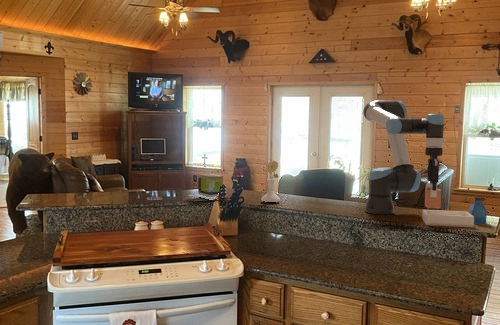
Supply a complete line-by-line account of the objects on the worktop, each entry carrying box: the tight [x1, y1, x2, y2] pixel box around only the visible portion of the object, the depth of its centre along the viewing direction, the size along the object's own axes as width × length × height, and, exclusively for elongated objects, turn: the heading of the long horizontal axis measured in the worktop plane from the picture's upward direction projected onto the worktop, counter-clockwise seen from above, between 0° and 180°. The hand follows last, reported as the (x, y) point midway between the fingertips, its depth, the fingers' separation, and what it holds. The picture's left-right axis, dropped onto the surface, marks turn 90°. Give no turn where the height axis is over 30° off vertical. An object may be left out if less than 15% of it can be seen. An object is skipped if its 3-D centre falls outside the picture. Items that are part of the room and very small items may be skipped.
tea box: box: [197, 173, 224, 197], centre depth 289 cm, size 15×10×15 cm, turn 32°
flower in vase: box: [260, 160, 281, 203], centre depth 275 cm, size 13×11×25 cm
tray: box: [422, 209, 475, 228], centre depth 222 cm, size 13×20×5 cm, turn 79°
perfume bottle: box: [468, 196, 488, 225], centre depth 225 cm, size 6×6×12 cm
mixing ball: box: [425, 181, 431, 190], centre depth 223 cm, size 4×4×4 cm
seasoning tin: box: [424, 187, 442, 209], centre depth 222 cm, size 6×6×8 cm
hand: (432, 196), depth 222 cm, fingers closed on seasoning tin, 6 cm apart
